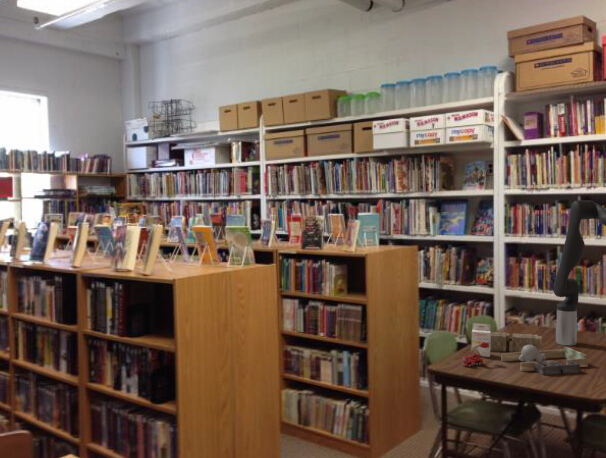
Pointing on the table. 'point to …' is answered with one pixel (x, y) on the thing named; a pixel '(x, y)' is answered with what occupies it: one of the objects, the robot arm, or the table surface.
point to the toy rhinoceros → (532, 355)
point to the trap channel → (553, 367)
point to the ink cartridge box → (481, 338)
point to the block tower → (514, 342)
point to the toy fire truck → (476, 357)
